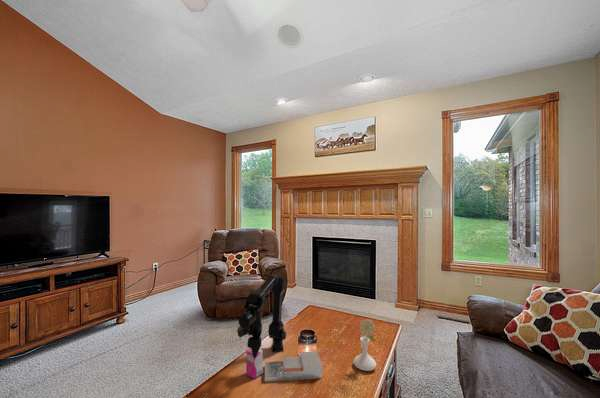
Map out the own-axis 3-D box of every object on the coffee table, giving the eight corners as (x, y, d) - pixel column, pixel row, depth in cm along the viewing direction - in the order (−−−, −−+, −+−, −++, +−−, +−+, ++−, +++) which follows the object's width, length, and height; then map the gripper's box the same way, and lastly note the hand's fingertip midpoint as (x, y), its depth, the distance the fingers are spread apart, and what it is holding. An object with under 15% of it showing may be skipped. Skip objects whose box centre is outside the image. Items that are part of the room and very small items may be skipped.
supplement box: (254, 369, 131) (255, 345, 131) (263, 374, 127) (263, 350, 127) (245, 374, 126) (246, 350, 126) (253, 380, 122) (254, 355, 123)
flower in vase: (349, 362, 137) (349, 314, 138) (366, 358, 142) (367, 311, 142) (364, 377, 125) (364, 324, 126) (383, 372, 130) (383, 321, 130)
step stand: (264, 366, 133) (265, 354, 133) (317, 363, 136) (317, 351, 137) (264, 381, 121) (264, 368, 121) (322, 378, 124) (322, 365, 125)
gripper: (240, 312, 135) (239, 343, 135) (236, 329, 117) (235, 364, 117) (262, 311, 137) (261, 341, 136) (261, 328, 118) (260, 363, 118)
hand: (254, 352), depth 127 cm, fingers open, 9 cm apart
